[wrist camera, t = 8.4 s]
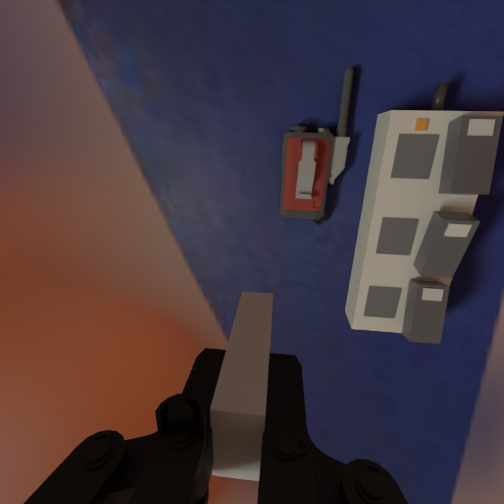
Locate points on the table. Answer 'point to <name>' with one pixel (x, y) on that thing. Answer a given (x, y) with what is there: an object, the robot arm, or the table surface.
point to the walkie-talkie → (313, 164)
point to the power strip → (400, 211)
